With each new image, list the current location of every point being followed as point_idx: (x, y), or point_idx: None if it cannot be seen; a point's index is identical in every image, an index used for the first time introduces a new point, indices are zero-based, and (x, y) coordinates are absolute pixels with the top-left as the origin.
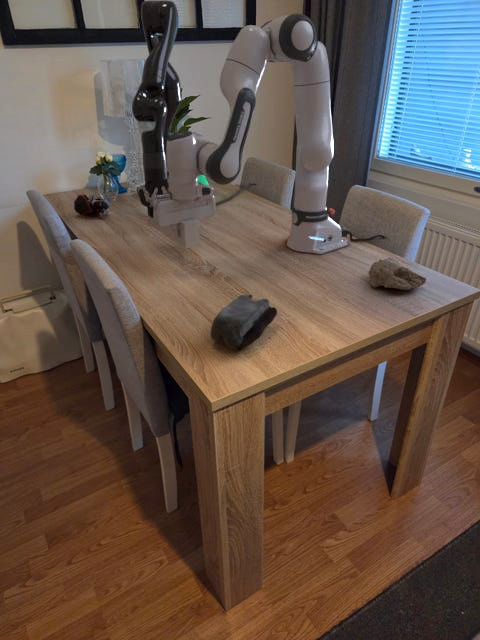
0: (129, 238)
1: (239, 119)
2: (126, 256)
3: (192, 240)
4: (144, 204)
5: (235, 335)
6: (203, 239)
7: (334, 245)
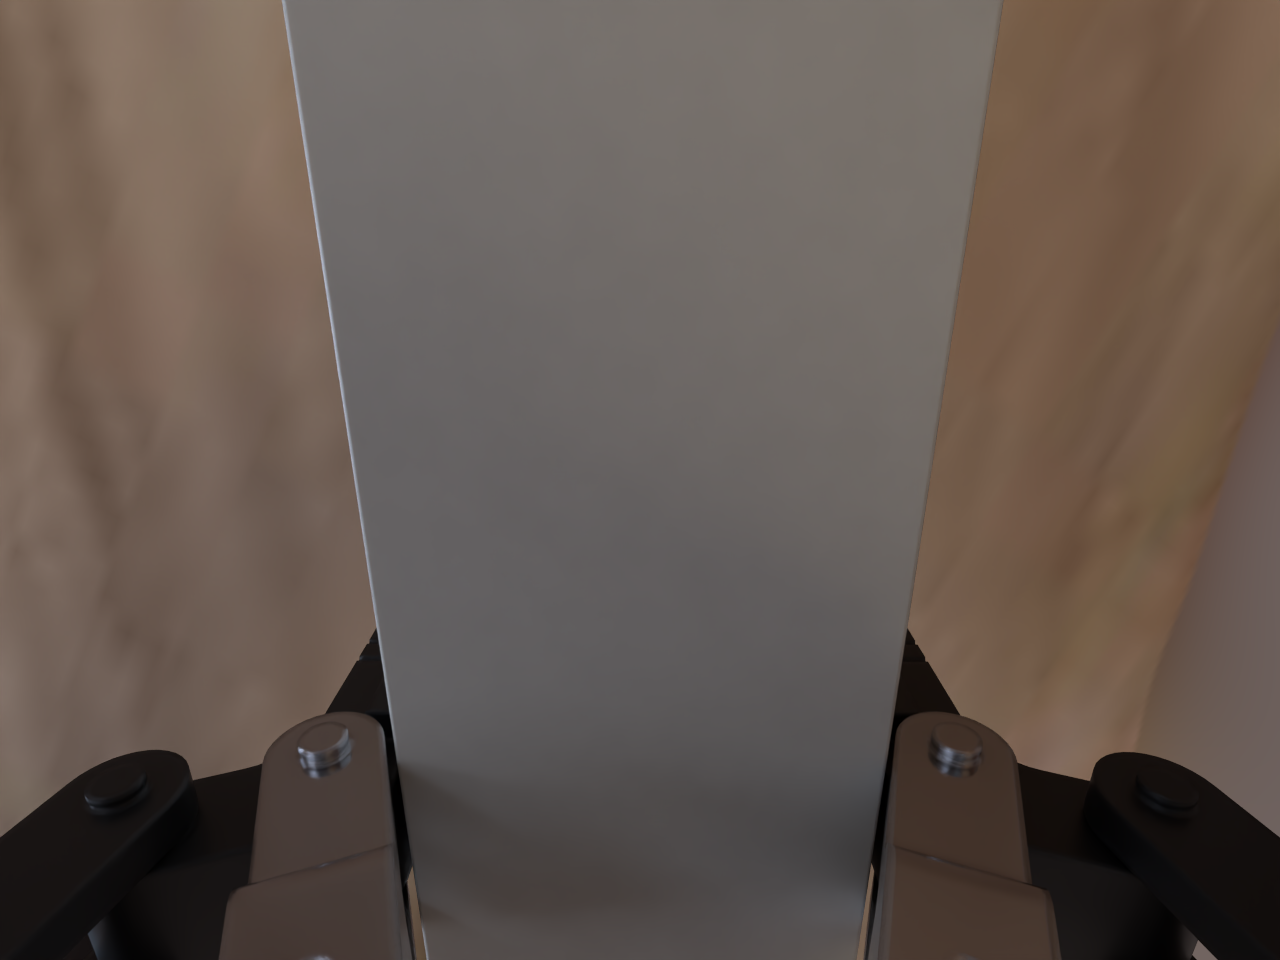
0: None
1: None
2: (1057, 434)
3: None
4: (1224, 807)
5: None
6: (119, 400)
7: None
